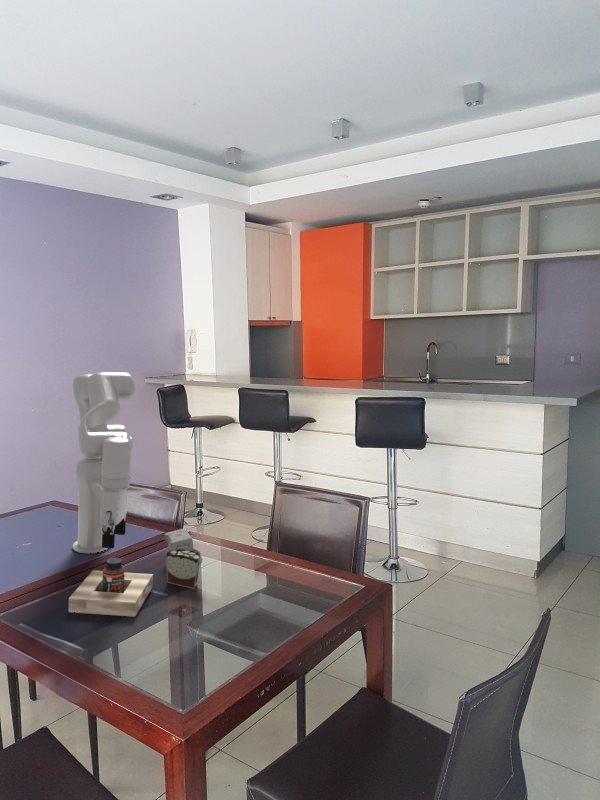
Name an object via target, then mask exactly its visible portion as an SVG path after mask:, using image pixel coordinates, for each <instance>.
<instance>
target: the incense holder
mask: <svg viewBox="0 0 600 800" xmlns="http://www.w3.org/2000/svg"><path fill="white" fill-rule="evenodd" d="M163 536H164V537H163V539H164V541H166V542H167V548H168V549H167V550H169V549H172V548H178V547H187V548H193V549H194V544H193V543H194V541H193V537H192V536H191V534H189V532H188V531H187V530H186V528H180V529H176V530H172V531H169V532H165V533H164V535H163Z"/></svg>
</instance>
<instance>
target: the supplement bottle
mask: <svg viewBox="0 0 600 800" xmlns="http://www.w3.org/2000/svg"><path fill="white" fill-rule="evenodd" d="M102 571H103V580H102V592H112V593H124V573H126V571H125V566H123V565H122V559H120V558H118V557H117V558H116V557H114V558H113V557H112V558H109V559H107V560H106V566H105V567H103V569H102Z"/></svg>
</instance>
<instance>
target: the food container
mask: <svg viewBox="0 0 600 800" xmlns="http://www.w3.org/2000/svg"><path fill="white" fill-rule="evenodd" d="M163 558H165V565H166V581H167V583H168V584H171V585H176V586H180V587H184V588H189V589H192V590H195V589H197V586H198V581H199V580H198V578H199V573H200V565H201V564H202V563H203V557H202V553H201V552H200V551H199V550H198V549H195V548H194V547H193V548H187V547H178V548H172V549H167V550H165V552H164V556H163Z"/></svg>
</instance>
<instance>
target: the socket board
mask: <svg viewBox="0 0 600 800" xmlns="http://www.w3.org/2000/svg"><path fill="white" fill-rule="evenodd" d="M102 580H103V570H94V569H93V570H92V571H91V572H90V573H88V576H87V577H86V578H85V579H84V580H83V581H82V582H81V584H79V586H78V587H77V588H76V589H75V590H74V591H73V593H71V595H70V596H69V597H68V613H74V612H75V614H76V613H77V614H91V615H104V616H105V615H106V616H107V615H109V616H121V617H124V616H125V617H136V616H137V614H138V612H139V611H140V609H141V608H142V607H143V605H144V602H145V601H146V599H147V597H148V595H150V592H151V590H152V589H153V586H154V585H153V584H154V574H153V573H138V572H136V573H135V572H125V573H124V593H112V592H102Z"/></svg>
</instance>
